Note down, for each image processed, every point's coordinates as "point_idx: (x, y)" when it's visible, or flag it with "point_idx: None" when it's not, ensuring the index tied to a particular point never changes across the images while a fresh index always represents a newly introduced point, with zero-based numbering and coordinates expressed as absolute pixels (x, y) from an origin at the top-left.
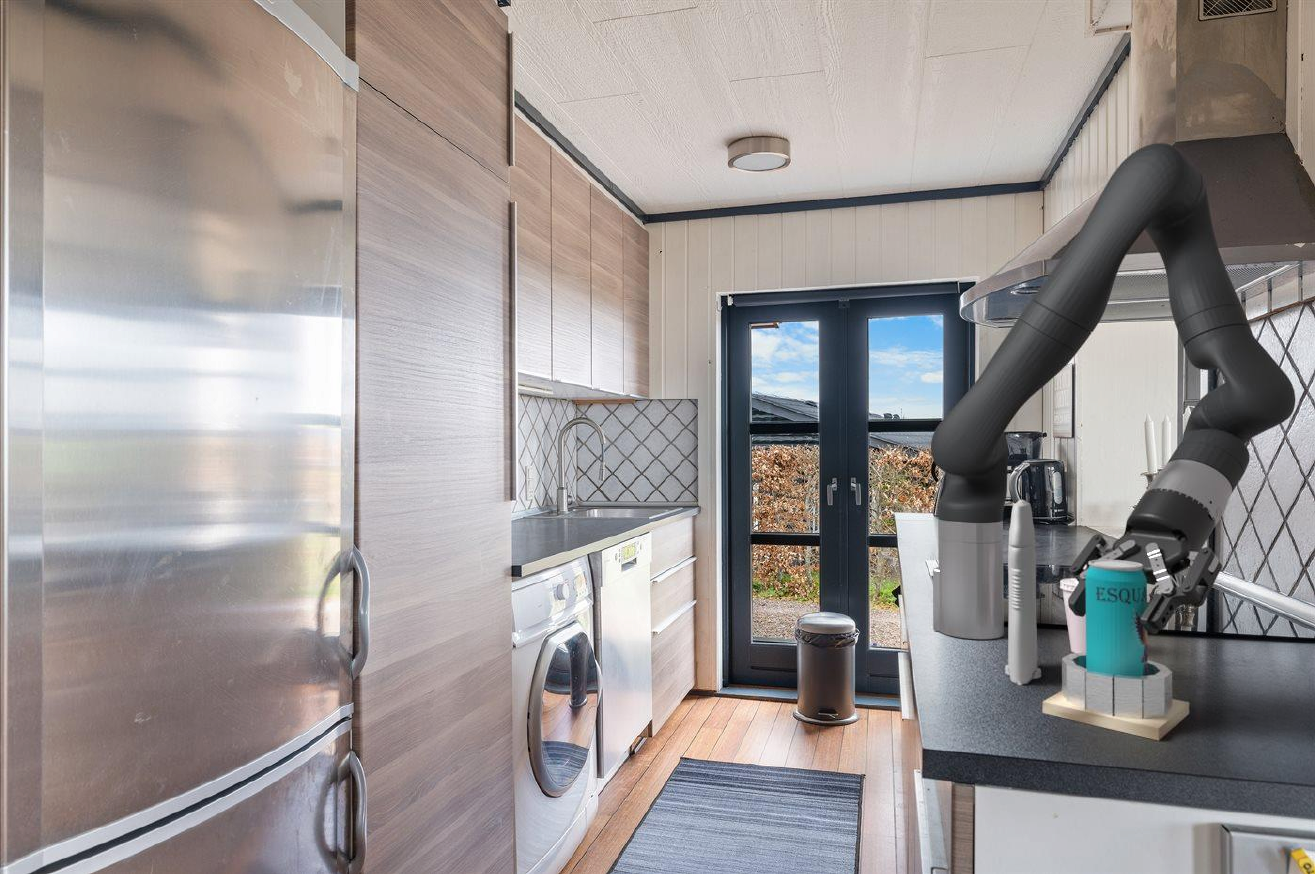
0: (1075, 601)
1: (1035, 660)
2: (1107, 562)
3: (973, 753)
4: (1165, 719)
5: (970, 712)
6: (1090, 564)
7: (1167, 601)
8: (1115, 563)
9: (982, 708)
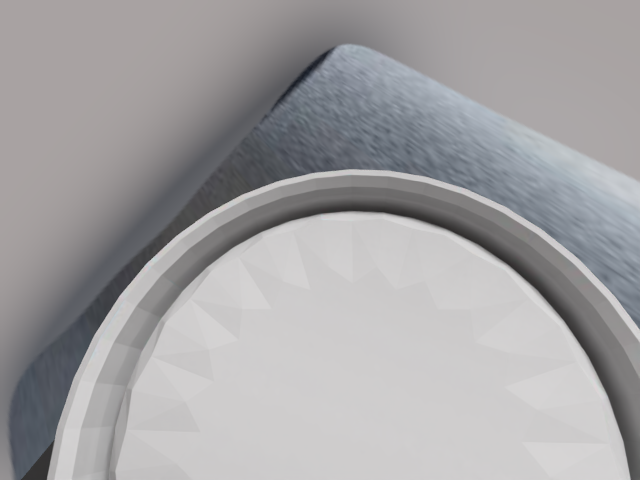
0: None
1: None
2: (451, 407)
3: (314, 67)
4: None
5: (454, 155)
6: (464, 193)
7: (33, 472)
8: (349, 428)
9: (467, 185)
